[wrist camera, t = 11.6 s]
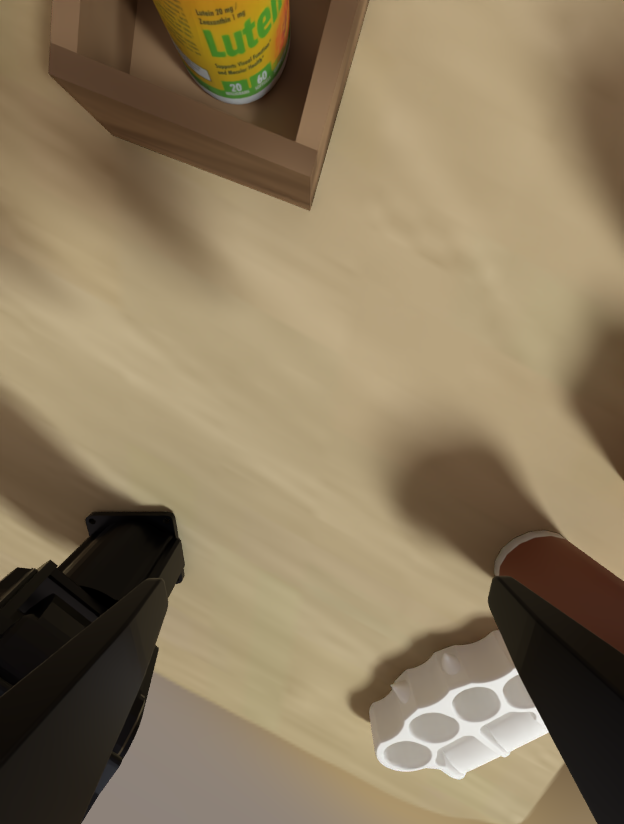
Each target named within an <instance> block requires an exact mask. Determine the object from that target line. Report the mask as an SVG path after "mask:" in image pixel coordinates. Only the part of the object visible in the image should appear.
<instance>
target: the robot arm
mask: <svg viewBox="0 0 624 824" xmlns="http://www.w3.org/2000/svg"><path fill="white" fill-rule="evenodd" d="M166 518H168V519H169V520H167V519H166ZM86 525H87V529H88V532H89V536H90V537H88V538H87V539H86V540H85V541H84V542H83V543H82V544H81V545H80V546H79V547H78V548H77V549H76V550H75V551H74V552H73V553H72V554H71V555H70V556H69V557H68V558H67V559H66V560H65V561H64V562H63V563H62V564H61V565H60V566H59V567H58V568H56V567H57V565H56V564H55V563H54V562H52V561H51V560H49V561H48V562H46V563H45V564H43V565H42V566H41V567H39V568H38V569H35V568H34V569H33V568H32V569H27V568H19V567H17V568H16V569H15V570H13V571H12V572H10V573H9V574H8V575H7V576H6V577H4V578H3V579H2V580H1V581H0V824H81V823H82V821H83V820H84V818H85V817H86V815H87V813H88V812H89V810H90V809H91V807H92V805H93V804H94V802H95V800H96V799H97V797H98V795H99V794H100V792H101V791H102V790H103V788H104V787H105V786H106V784H107V783H108V782H109V780H110V779H111V777H112V776H113V775H114V773H115V772H116V770H117V769H118V768H119V766H120V764H121V762H122V759H123V758H124V756H125V754H126V753H127V751H128V749H129V747H130V745H131V743H132V741H133V739H134V737H135V735H136V732H137V730H138V728H139V725H140V722H141V719H142V715H143V711H144V707H145V703H146V699H147V695H148V691H149V687H150V683H151V678H152V674H153V670H154V666H155V662H156V658H157V654H158V650H159V648H158V647H157V646H156V645H155V644H156V641H157V638H158V635H159V632H160V629H161V626H162V623H163V620H164V617H165V614H166V611H167V607H168V597H169V595H170V593H171V591H172V590H173V588H174V586H175V584H178V583H181V582H182V580H183V578H184V569H183V568H184V566H185V563H184V557H183V550H182V544H181V540H180V539H179V538H178V531H177V525H176V519H175V516H174V514H172V513H171V512H94V513H91V514H90V515H89V516H88V517H86ZM488 604H489V608H490V610H491V613H492V615H493V617H494V620H495V622H496V624H497V626H498V629H499V631H500V633H501V636H502V638H503V640H504V643H505V645H506V647H507V650H508V652H509V654H510V656H511V659H512V661H513V663H514V666H515V668H516V670H517V672H518V674H519V676H520V678H521V680H522V682H523V684H524V686H525V688H526V690H527V692H528V694H529V696H530V698H531V699H532V701H533V703H534V705H535V707H536V709H537V711H538V713H539V715H540V716H541V718H542V720H543V722H544V724H545V726H546V728H547V730H548V731H549V733H550V735H551V737H552V739H553V741H554V743H555V745H556V747H557V748H558V750H559V752H560V754H561V756H562V758H563V760H564V762H565V763H566V765H567V767H568V769H569V771H570V773H571V775H572V777H573V778H574V781H575V782H576V784H577V786H578V788H579V790H580V792H581V794H582V795H583V798H584V799H585V801H586V803H587V805H588V807H589V809H590V811H591V813H592V814H593V816H594V818H595V820H596V822H597V824H624V654H623V653H621V652H620V651H618V650H617V649H616V648H614V647H613V646H611V645H610V644H608V643H607V642H605V641H604V640H602V639H601V638H600V637H598V636H597V635H595V634H594V633H592V632H591V631H589V630H588V629H587V628H585V627H584V626H582V625H581V624H579V623H578V622H576V621H575V620H574V619H572V618H571V617H569V616H568V615H566V614H565V613H563V612H562V611H560V610H559V609H558V608H556V607H555V606H553V605H552V604H550V603H549V602H547V601H546V600H545V599H543V598H542V597H540V596H539V595H537V594H536V593H534V592H533V591H532V590H530V589H529V588H527V587H526V586H524V585H523V584H521V583H520V582H518V581H517V580H516V579H514V578H512V577H510V576H495V577H494V578H493V579H492V583H491V587H490V592H489V596H488Z"/></svg>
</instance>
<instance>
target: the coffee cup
mask: <svg viewBox="0 0 624 824" xmlns="http://www.w3.org/2000/svg"><path fill="white" fill-rule="evenodd" d="M494 574H495V576H510V577H512V578H514V579H516V580H517V581H518V582H520V583H521V584H523V585H524V586H526V587H527V588H529V589H530V590H532V591H533V592H534V593H536V594H537V595H539V596H540V597H542V598H543V599H545V600H546V601H547V602H549V603H550V604H552V605H553V606H555V607H556V608H558V609H559V610H560V611H562V612H563V613H565V614H566V615H568V616H569V617H571V618H572V619H574V620H575V621H576V622H578V623H579V624H581V625H582V626H584V627H585V628H587V629H588V630H589V631H591V632H592V633H594V634H595V635H597V636H598V637H600V638H601V639H602V640H604V641H605V642H607V643H608V644H610V645H611V646H613V647H614V648H616V649H617V650H618V651H620V652H621V653H623V654H624V581H622V580H621V579H620V578H618V577H617V576H615V575H614V574H613V573H611V572H610V571H609V570H607V569H606V568H604V567H603V566H602V565H600V564H599V563H598V562H596V561H595V560H593V559H592V558H591V557H589V556H588V555H587V554H585V553H584V552H582V551H581V550H580V549H578V548H577V547H576V546H574V545H573V544H571V543H570V542H569V541H567V540H566V539H565V538H564V537H562V536H561V535H560V534H558V533H554V532H550V531H546V530H544V531H534V532H528V533H526V534H523V535H521V536H518V537H516V538H514V539H513V540H512V541H510V542H509V543H508V544H507V545H506V546H504V547H503V548H502V549H501V551H500V553H499V555H498V556H497V558H496V560H495V566H494Z"/></svg>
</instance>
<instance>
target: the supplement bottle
mask: <svg viewBox="0 0 624 824" xmlns="http://www.w3.org/2000/svg"><path fill="white" fill-rule="evenodd" d="M153 2H154V4H155V6H156V8H157V10H158V12H159V14H160V16H161V18H162V20H163V23H164V25H165V27H166V29H167V31H168V33H169V35H170V37H171V39H172V41H173V43H174V45H175V47H176V49H177V51H178V54H179V55H180V57H181V59H182V61H183V63H184V65H185V67H186V68H187V70H188V72H189V73H190V75H191V76H192V78H193V79H194V80H195V82H196V83H197V84H198V85H199V86H200V87H201V88H202V89H203V90H204V91H205V92H207V93H208V94H209V95H211V96H212V97H214V98H216V99H218V100H220V101H222V102H225V103H229V104H237V105H239V104H247V103H251V102H254V101H256V100H258V99H260V98H261V97H263V96H264V95H265V94H267V93H268V92H269V91H270V90H271V89H272V87H273V86H274V85H275V84H276V82H277V81H278V79H279V77H280V75H281V74H282V72H283V69H284V67H285V64H286V61H287V57H288V52H289V47H290V32H291V30H290V6H289V0H153Z"/></svg>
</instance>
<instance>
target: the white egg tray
mask: <svg viewBox="0 0 624 824" xmlns="http://www.w3.org/2000/svg"><path fill="white" fill-rule="evenodd" d="M390 686H391V687H392V690H391V692H390V693H389V694H388V695H387V696H386V697H384V698H383V699H381V700H379V701H377V702H373V703H372V705H371V707H370V710H369V717H370V723H371V730H372V736H373V743H374V749H375V754H376V757H377V759H378V760H379V762H380V763H381V764H383V765H384V766H386V767H387V768H390V769H393V770H397V771H416V770H420V769H424V768H433V769H440V770H441V771H443V772H444V773H446V774H447V775H448V776H450V777H452V778H455V779H458V780H460V779H462V778H464V776H465V774H466V772H468V771H471V770H473V769H475V768H477V767H479V766H481V765H483V764H485V763H487V762H489V761H492V760H494V759H496V758H498V757H500V756H502V757H506V756H508V755H509V754H510V751H512V750H514V749H516V748H518V747H520V746H522V745H524V744H526V743H528V742H530V741H532V740H534V739H536V738H538V737H540V736H542V735H544V734H546V733H548V732H549V731H548V730H547V728H546V726H545V724H544V722H543V720H542V718H541V716H540V715H539V713H538V711H537V709H536V707H535V705H534V703H533V701H532V699H531V698H530V696H529V694H528V692H527V690H526V688H525V686H524V684H523V682H522V680H521V678H520V676H519V674H518V672H517V670H516V668H515V666H514V663H513V661H512V659H511V656H510V654H509V652H508V650H507V647H506V645H505V643H504V640H503V638H502V636H501V633H500V631H499V630H495V631H492V632H490V633H489V634H488V635H487V636H486V637H484V638H483V639H481V640H479V641H477V642H474V643H471V644H467V645H453V646H450V647H447V648H445V649H442V650H439V651H437V652H434V654H433V655H432V656H431V658H430V659H429V660H428V661H426V662H425V663H423V664H422V665H420V666H417V667H415V668H411V669H406V670H405V671H404V672H403V673H402V674H401V675H400V676H399V677H398V678H397V679H396V680H395V681H394V684H391V685H390Z"/></svg>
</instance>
